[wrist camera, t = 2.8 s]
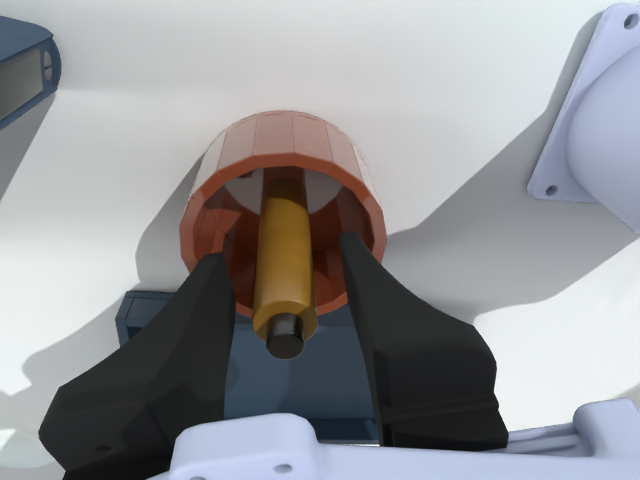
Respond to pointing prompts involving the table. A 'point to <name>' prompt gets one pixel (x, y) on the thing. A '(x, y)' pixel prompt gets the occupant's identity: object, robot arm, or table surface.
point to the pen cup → (264, 168)
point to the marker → (284, 272)
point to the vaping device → (25, 67)
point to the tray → (286, 373)
